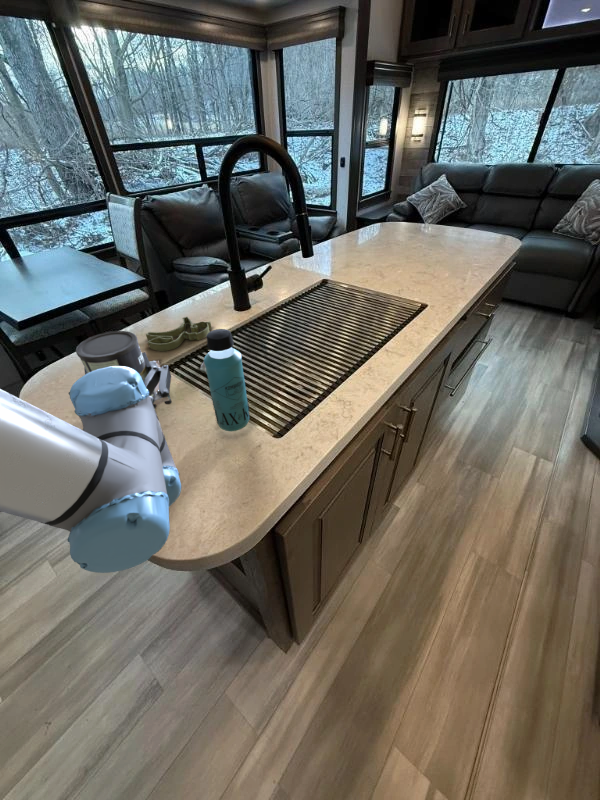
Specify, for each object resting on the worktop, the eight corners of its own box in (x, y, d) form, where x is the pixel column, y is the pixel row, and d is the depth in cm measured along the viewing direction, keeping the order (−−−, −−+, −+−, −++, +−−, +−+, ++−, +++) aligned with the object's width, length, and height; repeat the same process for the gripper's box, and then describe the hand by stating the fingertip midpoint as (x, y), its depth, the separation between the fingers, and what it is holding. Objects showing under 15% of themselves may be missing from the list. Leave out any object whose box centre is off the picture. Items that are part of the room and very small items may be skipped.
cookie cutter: (192, 320, 103) (191, 314, 101) (218, 330, 97) (217, 324, 96) (140, 342, 92) (137, 336, 90) (165, 356, 86) (163, 349, 85)
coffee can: (150, 382, 75) (130, 325, 66) (163, 406, 68) (142, 346, 60) (101, 398, 71) (72, 339, 62) (110, 425, 64) (79, 363, 55)
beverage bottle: (210, 429, 64) (187, 336, 52) (234, 410, 68) (218, 320, 56) (235, 442, 61) (217, 347, 49) (258, 422, 65) (247, 330, 53)
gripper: (65, 472, 51) (63, 396, 66) (208, 422, 60) (177, 365, 75) (41, 438, 46) (45, 364, 61) (199, 388, 55) (169, 335, 70)
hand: (118, 365), depth 68 cm, fingers closed on coffee can, 10 cm apart
